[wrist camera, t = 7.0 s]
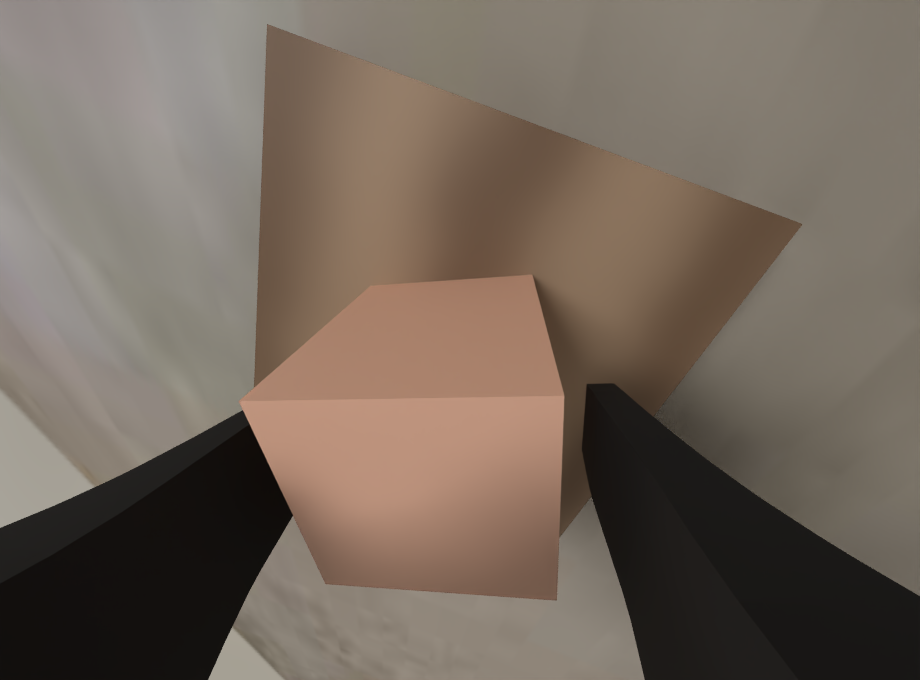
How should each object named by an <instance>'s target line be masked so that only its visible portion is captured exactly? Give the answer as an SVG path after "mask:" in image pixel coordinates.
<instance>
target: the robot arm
mask: <svg viewBox="0 0 920 680" xmlns="http://www.w3.org/2000/svg"><path fill="white" fill-rule="evenodd" d="M582 454H583V459H584V464H585V469H586V474H587V479H588V484H589V489H590V492H591V495H592V499H593V502H594V505H595V508H596V511H597V514H598V518H599V521H600V524H601V527H602V530H603V533H604V536H605V539H606V542H607V545H608V548H609V551H610V555H611V558H612V561H613V564H614V567H615V570H616V573H617V576H618V579H619V582H620V585H621V588H622V592H623V595H624V598H625V602H626V605H627V609H628V612H629V616H630V619H631V623H632V627H633V631H634V636H635V640H636V644H637V648H638V652H639V657H640V661H641V665H642V669H643V674H644V678H645V680H920V596H918V595H917V594H915V593H913V592H912V591H910V590H908V589H906V588H905V587H903V586H901V585H900V584H898V583H896V582H894V581H893V580H891V579H889V578H888V577H886V576H884V575H882V574H881V573H879V572H877V571H876V570H874V569H872V568H871V567H869V566H867V565H865V564H864V563H862V562H860V561H859V560H857V559H855V558H854V557H852V556H850V555H849V554H847V553H845V552H844V551H842V550H841V549H839V548H837V547H836V546H834V545H832V544H831V543H829V542H827V541H826V540H824V539H823V538H821V537H819V536H818V535H816V534H815V533H813V532H812V531H810V530H809V529H807V528H806V527H804V526H802V525H801V524H799V523H798V522H796V521H795V520H793V519H792V518H790V517H789V516H787V515H786V514H784V513H782V512H781V511H779V510H778V509H776V508H775V507H773V506H772V505H770V504H769V503H767V502H766V501H764V500H763V499H761V498H760V497H758V496H757V495H755V494H754V493H752V492H751V491H750V490H748V489H747V488H745V487H744V486H742V485H741V484H740V483H738V482H737V481H736V480H734V479H733V478H731V477H730V476H729V475H727V474H726V473H725V472H723V471H722V470H720V469H719V468H718V467H716V466H715V465H714V464H712V463H711V462H709V461H708V460H707V459H705V458H704V457H703V456H702V455H700V454H699V453H698V452H696V451H695V450H694V449H692V448H691V447H690V446H689V445H687V444H686V443H685V442H684V441H682V440H681V439H680V438H679V437H677V436H676V435H675V434H674V433H672V432H671V431H670V430H669V429H667V428H666V427H665V426H664V425H663V424H661V423H660V422H659V421H658V420H657V419H655V418H654V417H653V416H652V415H651V414H649V413H648V412H647V411H646V410H645V409H644V408H642V407H641V406H640V405H639V404H638V403H637V402H635V401H634V400H633V399H632V398H631V397H630V396H629V395H627V394H626V393H625V392H624V391H623V390H621V389H620V388H619V387H618V386H617V385H615V384H614V383H603V384H587V386H586V399H585V412H584V425H583V438H582ZM292 516H293V514H292V512H291V510H290V508H289V506H288V504H287V502H286V500H285V497H284V495H283V493H282V491H281V489H280V487H279V485H278V483H277V481H276V479H275V476H274V474H273V472H272V470H271V468H270V466H269V464H268V462H267V460H266V457H265V455H264V453H263V451H262V449H261V447H260V445H259V443H258V441H257V439H256V436H255V434H254V432H253V430H252V428H251V426H250V424H249V422H248V420H247V418H246V415H245V413H244V411H243V410H242V411H241V412H239V413H237V414H235V415H233V416H231V417H230V418H228V419H226V420H224V421H222V422H221V423H219V424H217V425H215V426H213V427H212V428H210V429H208V430H206V431H204V432H203V433H201V434H199V435H197V436H195V437H193V438H192V439H190V440H188V441H186V442H184V443H182V444H180V445H178V446H176V447H174V448H173V449H171V450H169V451H167V452H165V453H163V454H161V455H159V456H157V457H155V458H153V459H152V460H150V461H148V462H146V463H144V464H142V465H140V466H138V467H136V468H134V469H132V470H130V471H128V472H126V473H124V474H122V475H120V476H118V477H116V478H114V479H112V480H110V481H107V482H105V483H103V484H101V485H99V486H97V487H95V488H92V489H90V490H88V491H86V492H84V493H81V494H79V495H77V496H75V497H73V498H71V499H68V500H66V501H64V502H62V503H59V504H57V505H55V506H52V507H50V508H48V509H45V510H43V511H40V512H38V513H36V514H33V515H31V516H28V517H26V518H24V519H21V520H19V521H16V522H14V523H11V524H9V525H6V526H4V527H2V528H0V680H208V678H209V676H210V674H211V672H212V669H213V667H214V665H215V663H216V661H217V658H218V656H219V654H220V652H221V650H222V647H223V645H224V643H225V641H226V639H227V636H228V634H229V632H230V630H231V628H232V626H233V624H234V622H235V620H236V618H237V616H238V614H239V611H240V609H241V607H242V605H243V603H244V601H245V599H246V597H247V595H248V593H249V591H250V589H251V587H252V585H253V583H254V582H255V580H256V578H257V576H258V574H259V572H260V571H261V569H262V567H263V565H264V564H265V562H266V560H267V559H268V557H269V555H270V554H271V552H272V550H273V548H274V547H275V545H276V543H277V542H278V540H279V538H280V537H281V535H282V533H283V531H284V530H285V528H286V526H287V525H288V523H289V521H290V520H291V518H292Z"/></svg>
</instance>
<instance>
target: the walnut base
mask: <svg viewBox="0 0 920 680" xmlns="http://www.w3.org/2000/svg"><path fill="white" fill-rule="evenodd" d="M801 226H802V224H801V223H798V222H795V221H793V220H790V219H787V218H785V217H782V216H779V215H777V214H774V213H771V212H769V211H766V210H763V209H761V208H758V207H755V206H753V205H750V204H747V203H745V202H742V201H739V200H736V199H734V198H731V197H728V196H726V195H723V194H720V193H718V192H715V191H712V190H710V189H707V188H704V187H702V186H699V185H696V184H694V183H691V182H688V181H686V180H683V179H680V178H678V177H675V176H672V175H670V174H667V173H664V172H662V171H659V170H656V169H654V168H651V167H648V166H645V165H643V164H640V163H637V162H635V161H632V160H629V159H627V158H624V157H621V156H619V155H616V154H613V153H611V152H608V151H605V150H603V149H600V148H597V147H595V146H592V145H589V144H587V143H584V142H581V141H579V140H576V139H573V138H571V137H568V136H565V135H562V134H560V133H557V132H554V131H552V130H549V129H546V128H544V127H541V126H538V125H536V124H533V123H530V122H528V121H525V120H522V119H520V118H517V117H514V116H512V115H509V114H506V113H504V112H501V111H498V110H496V109H493V108H490V107H488V106H485V105H482V104H480V103H477V102H474V101H471V100H469V99H466V98H463V97H461V96H458V95H455V94H453V93H450V92H447V91H445V90H442V89H439V88H437V87H434V86H431V85H429V84H426V83H423V82H421V81H418V80H415V79H413V78H410V77H407V76H405V75H402V74H399V73H397V72H394V71H391V70H389V69H386V68H383V67H380V66H378V65H375V64H372V63H370V62H367V61H364V60H362V59H359V58H356V57H354V56H351V55H348V54H346V53H343V52H340V51H338V50H335V49H332V48H330V47H327V46H324V45H322V44H319V43H316V42H314V41H311V40H308V39H306V38H303V37H300V36H298V35H295V34H292V33H289V32H287V31H284V30H281V29H279V28H276V27H273V26H271V25H268V24H267V42H266V70H265V98H264V126H263V154H262V182H261V210H260V238H259V266H258V294H257V322H256V349H255V377H254V387H256V386H257V385H258V384H259V383H260V382H261V381H262V380H264V379H265V378H266V377H267V376H268V375H269V374H270V373H272V372H273V371H274V370H275V369H276V368H277V367H278V366H280V365H281V364H282V363H283V362H284V361H285V360H286V359H288V358H289V357H290V356H291V355H292V354H293V353H294V352H296V351H297V350H298V349H299V348H300V347H301V346H302V345H304V344H305V343H306V342H307V341H308V340H309V339H310V338H312V337H313V336H314V335H315V334H316V333H317V332H318V331H320V330H321V329H322V328H323V327H324V326H325V325H326V324H327V323H329V322H330V321H331V320H332V319H333V318H334V317H335V316H337V315H338V314H339V313H340V312H341V311H342V310H343V309H345V308H346V307H347V306H348V305H349V304H350V303H351V302H353V301H354V300H355V299H356V298H357V297H358V296H359V295H361V294H362V293H363V292H364V291H365V290H366V289H367V288H369V287H370V286H375V285H389V284H404V283H418V282H433V281H447V280H462V279H476V278H491V277H505V276H520V275H533V279H534V283H535V287H536V290H537V294H538V298H539V302H540V305H541V309H542V313H543V317H544V321H545V324H546V328H547V332H548V336H549V339H550V343H551V347H552V351H553V355H554V358H555V362H556V366H557V370H558V374H559V377H560V381H561V385H562V389H563V392H564V421H563V448H562V475H561V502H560V529H559V537H560V536H561V535H562V534H563V532H564V531H565V530H566V528H567V527H568V526H569V524H570V523H571V522H572V521H573V519H574V518H575V517H576V515H577V514H578V513H579V512H580V510H581V509H582V508H583V506H584V505H585V504H586V503H587V501H588V500H589V499H590V497H591V496H592V495H591V492H590V489H589V484H588V479H587V474H586V469H585V464H584V459H583V454H582V438H583V425H584V412H585V399H586V386H587V384H603V383H614V384H615V385H617V386H618V387H619V388H620V389H621V390H623V391H624V392H625V393H626V394H627V395H629V396H630V397H631V398H632V399H633V400H634V401H635V402H637V403H638V404H639V405H640V406H641V407H642V408H644V409H645V410H646V411H647V412H648V413H649V414H651V415H652V416H654V415H655V414H656V412H657V411H658V410H659V409H660V407H661V406H662V405H663V403H664V402H665V401H666V400H667V398H668V397H669V396H670V394H671V393H672V392H673V390H674V389H675V388H676V387H677V385H678V384H679V383H680V381H681V380H682V379H683V378H684V376H685V375H686V374H687V372H688V371H689V370H690V369H691V367H692V366H693V365H694V363H695V362H696V361H697V360H698V358H699V357H700V356H701V354H702V353H703V352H704V351H705V349H706V348H707V347H708V345H709V344H710V343H711V342H712V340H713V339H714V338H715V336H716V335H717V334H718V332H719V331H720V330H721V329H722V327H723V326H724V325H725V323H726V322H727V321H728V320H729V318H730V317H731V316H732V314H733V313H734V312H735V311H736V309H737V308H738V307H739V305H740V304H741V303H742V302H743V300H744V299H745V298H746V296H747V295H748V294H749V293H750V291H751V290H752V289H753V287H754V286H755V285H756V284H757V282H758V281H759V280H760V278H761V277H762V276H763V275H764V273H765V272H766V271H767V269H768V268H769V267H770V265H771V264H772V263H773V262H774V260H775V259H776V258H777V256H778V255H779V254H780V253H781V251H782V250H783V249H784V247H785V246H786V245H787V244H788V242H789V241H790V240H791V238H792V237H793V236H794V235H795V233H796V232H797V231H798V229H799V228H800V227H801Z"/></svg>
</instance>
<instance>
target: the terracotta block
mask: <svg viewBox="0 0 920 680" xmlns="http://www.w3.org/2000/svg"><path fill="white" fill-rule="evenodd" d="M239 403H240V405H241V407H242V409H243V411H244V413H245V415H246V418H247V420H248V422H249V424H250V426H251V428H252V430H253V432H254V434H255V436H256V439H257V441H258V443H259V445H260V447H261V449H262V451H263V453H264V455H265V457H266V460H267V462H268V464H269V466H270V468H271V470H272V472H273V474H274V476H275V479H276V481H277V483H278V485H279V487H280V489H281V491H282V493H283V495H284V497H285V500H286V502H287V504H288V506H289V508H290V510H291V512H292V514H293V516H294V518H295V521H296V523H297V525H298V527H299V529H300V531H301V533H302V535H303V537H304V540H305V542H306V544H307V546H308V548H309V550H310V552H311V554H312V556H313V558H314V561H315V563H316V565H317V567H318V569H319V571H320V573H321V575H322V577H323V580H324V582H325V584H332V585H346V586H360V587H374V588H388V589H402V590H416V591H430V592H444V593H458V594H473V595H487V596H501V597H515V598H529V599H543V600H557V583H558V556H559V529H560V502H561V475H562V448H563V421H564V392H563V389H562V385H561V381H560V377H559V374H558V370H557V366H556V362H555V358H554V355H553V351H552V347H551V343H550V339H549V336H548V332H547V328H546V324H545V321H544V317H543V313H542V309H541V305H540V302H539V298H538V294H537V290H536V287H535V283H534V279H533V275H520V276H505V277H491V278H476V279H462V280H447V281H433V282H418V283H404V284H389V285H375V286H370V287H369V288H367V289H366V290H365V291H364V292H363V293H362V294H361V295H359V296H358V297H357V298H356V299H355V300H354V301H353V302H351V303H350V304H349V305H348V306H347V307H346V308H345V309H343V310H342V311H341V312H340V313H339V314H338V315H337V316H335V317H334V318H333V319H332V320H331V321H330V322H329V323H327V324H326V325H325V326H324V327H323V328H322V329H321V330H320V331H318V332H317V333H316V334H315V335H314V336H313V337H312V338H310V339H309V340H308V341H307V342H306V343H305V344H304V345H302V346H301V347H300V348H299V349H298V350H297V351H296V352H294V353H293V354H292V355H291V356H290V357H289V358H288V359H286V360H285V361H284V362H283V363H282V364H281V365H280V366H278V367H277V368H276V369H275V370H274V371H273V372H272V373H270V374H269V375H268V376H267V377H266V378H265V379H264V380H262V381H261V382H260V383H259V384H258V385H257V386H256V387H254V388H253V389H252V390H251V391H250V392H249V393H248V394H246V395H245V396H244V397H243V398H242V399H241V400H240V401H239Z"/></svg>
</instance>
